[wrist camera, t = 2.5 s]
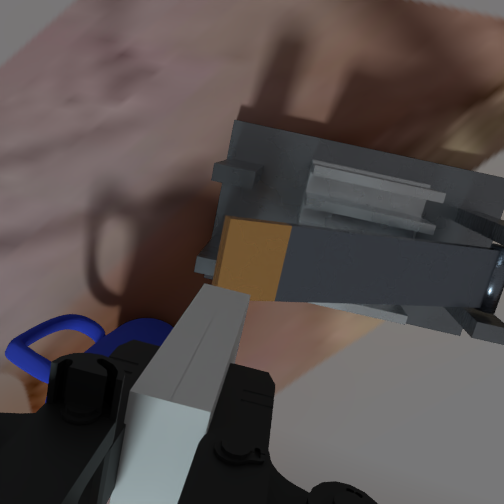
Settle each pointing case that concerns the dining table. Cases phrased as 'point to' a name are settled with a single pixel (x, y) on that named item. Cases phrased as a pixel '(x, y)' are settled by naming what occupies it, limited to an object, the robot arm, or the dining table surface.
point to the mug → (104, 344)
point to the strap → (354, 267)
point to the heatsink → (360, 206)
